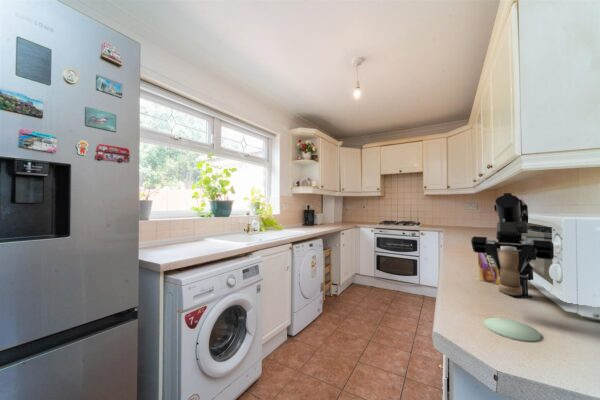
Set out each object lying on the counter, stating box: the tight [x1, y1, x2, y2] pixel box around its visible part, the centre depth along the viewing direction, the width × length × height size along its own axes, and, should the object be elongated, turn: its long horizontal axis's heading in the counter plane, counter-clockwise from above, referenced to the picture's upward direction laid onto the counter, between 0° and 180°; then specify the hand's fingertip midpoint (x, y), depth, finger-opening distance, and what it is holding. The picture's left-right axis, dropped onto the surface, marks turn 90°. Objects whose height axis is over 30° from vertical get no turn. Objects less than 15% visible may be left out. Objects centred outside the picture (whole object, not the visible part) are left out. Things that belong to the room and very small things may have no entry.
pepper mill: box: [498, 246, 522, 296], centre depth 71 cm, size 5×5×13 cm
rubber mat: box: [483, 317, 542, 342], centre depth 62 cm, size 11×11×1 cm
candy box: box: [477, 249, 501, 285], centre depth 100 cm, size 9×4×15 cm, turn 26°
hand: (508, 270), depth 70 cm, fingers closed on pepper mill, 4 cm apart
